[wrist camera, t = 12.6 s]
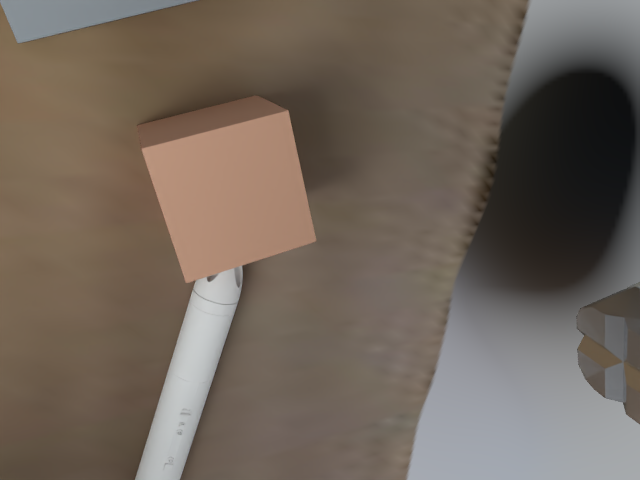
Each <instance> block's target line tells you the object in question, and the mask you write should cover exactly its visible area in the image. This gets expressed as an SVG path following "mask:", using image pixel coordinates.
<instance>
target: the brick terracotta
mask: <svg viewBox="0 0 640 480" xmlns="http://www.w3.org/2000/svg"><path fill="white" fill-rule="evenodd" d="M137 128H138V133H139V139H140V144H141V149H142V152H143V155H144V158H145V161H146V164H147V167H148V170H149V173H150V176H151V179H152V182H153V185H154V188H155V191H156V194H157V197H158V200H159V203H160V206H161V209H162V212H163V215H164V218H165V221H166V224H167V227H168V230H169V233H170V236H171V239H172V242H173V245H174V248H175V251H176V254H177V257H178V260H179V263H180V266H181V269H182V272H183V275H184V278H185V281H186V283H189V282H192V281H195V280H198V279H201V278H204V277H208V276H211V275H214V274H217V273H220V272H223V271H226V270H229V269H233V268H236V267H239V266H242V265H245V264H248V263H251V262H254V261H257V260H261V259H264V258H267V257H270V256H273V255H276V254H279V253H282V252H285V251H289V250H292V249H295V248H298V247H301V246H304V245H307V244H310V243H313V242H316V237H315V232H314V228H313V223H312V218H311V214H310V209H309V204H308V200H307V195H306V190H305V186H304V181H303V176H302V172H301V167H300V162H299V158H298V153H297V148H296V144H295V139H294V134H293V130H292V125H291V121H290V116H289V111H288V110H286V109H284V108H282V107H280V106H278V105H276V104H274V103H272V102H270V101H268V100H266V99H264V98H262V97H259V96H257V95H255V96H251V97H247V98H243V99H239V100H235V101H231V102H227V103H223V104H219V105H215V106H211V107H207V108H203V109H199V110H195V111H191V112H188V113H184V114H180V115H176V116H172V117H168V118H164V119H160V120H156V121H152V122H148V123H144V124H140V125H137Z"/></svg>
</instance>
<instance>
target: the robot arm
mask: <svg viewBox="0 0 640 480" xmlns="http://www.w3.org/2000/svg"><path fill="white" fill-rule="evenodd" d="M577 329H578V330H579V331H580V332H581V333H582V334H583V335H584V337H583V339H582V341H581V343H580V345H579V347H578V349H577V351H578V363H579V367H580V368H581V371H582V373H583V375H584V377H585V379H586V380H587V382H588V383H589V384H590V385H591V386H592V387H593V388H594V390H596V391H597V392H598V393H599V394H601V395H602V396H603V397H605V398H607V399H611V400H615V401H619V402H623V404H624V408H625V412H626V414H627V415H628V416H629V417H631V418H632V419H633V420H635V421H636V422H637V423H639V424H640V282H639V283H636V284H634V285H632V286H630V287H628V288H627V289H624V290H621V291H619V292H617V293H615V294H612V295H610V296H608V297H605V298H603V299H601V300H598V301H596V302H593V303H591V304H589V305H587V306H584V307H582V308H580V310H579V312H578V315H577Z"/></svg>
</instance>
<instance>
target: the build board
mask: <svg viewBox="0 0 640 480" xmlns="http://www.w3.org/2000/svg"><path fill="white" fill-rule="evenodd" d="M194 1H198V0H0V3H1V5H2V7H3V10H4V12H5V14H6V17H7V19H8V21H9V24H10V26H11V28H12V31H13V33H14V35H15V38H16V40H17V43H24V42H28V41H32V40H36V39H40V38H44V37H49V36H53V35H57V34H61V33H65V32H69V31H73V30H78V29H82V28H86V27H90V26H94V25H98V24H103V23H107V22H111V21H115V20H119V19H123V18H127V17H132V16H136V15H140V14H144V13H148V12H152V11H156V10H161V9H165V8H169V7H173V6H177V5H181V4H185V3H190V2H194Z"/></svg>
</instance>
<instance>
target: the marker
mask: <svg viewBox="0 0 640 480" xmlns="http://www.w3.org/2000/svg"><path fill="white" fill-rule="evenodd" d="M242 279H243V271H242V266H239V267H236V268H233V269H229V270H226V271H223V272H220V273H217V274H214V275H211V276H208V277H204V278H201V279H198V280H196V282H195V284H194V287H193V291H192V294H191V297H190V300H189V304H188V307H187V310H186V314H185V317H184V320H183V324H182V327H181V330H180V333H179V337H178V340H177V343H176V347H175V350H174V353H173V356H172V360H171V363H170V366H169V369H168V373H167V376H166V379H165V383H164V386H163V389H162V392H161V396H160V399H159V402H158V406H157V409H156V412H155V415H154V419H153V422H152V425H151V429H150V432H149V435H148V438H147V442H146V445H145V448H144V452H143V455H142V458H141V461H140V465H139V468H138V471H137V474H136V478H135V480H180V478H181V475H182V472H183V469H184V466H185V463H186V460H187V456H188V453H189V450H190V447H191V444H192V441H193V438H194V435H195V432H196V429H197V426H198V423H199V420H200V417H201V414H202V411H203V408H204V405H205V401H206V398H207V395H208V392H209V389H210V386H211V383H212V380H213V377H214V374H215V371H216V368H217V365H218V362H219V359H220V356H221V353H222V349H223V346H224V343H225V340H226V337H227V334H228V331H229V328H230V325H231V322H232V319H233V316H234V313H235V310H236V307H237V304H238V300H239V297H240V293H241V288H242Z"/></svg>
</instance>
